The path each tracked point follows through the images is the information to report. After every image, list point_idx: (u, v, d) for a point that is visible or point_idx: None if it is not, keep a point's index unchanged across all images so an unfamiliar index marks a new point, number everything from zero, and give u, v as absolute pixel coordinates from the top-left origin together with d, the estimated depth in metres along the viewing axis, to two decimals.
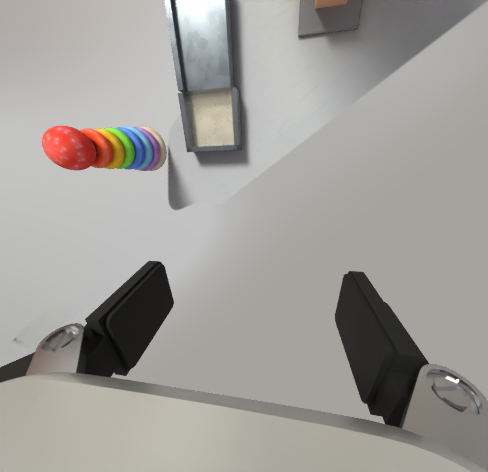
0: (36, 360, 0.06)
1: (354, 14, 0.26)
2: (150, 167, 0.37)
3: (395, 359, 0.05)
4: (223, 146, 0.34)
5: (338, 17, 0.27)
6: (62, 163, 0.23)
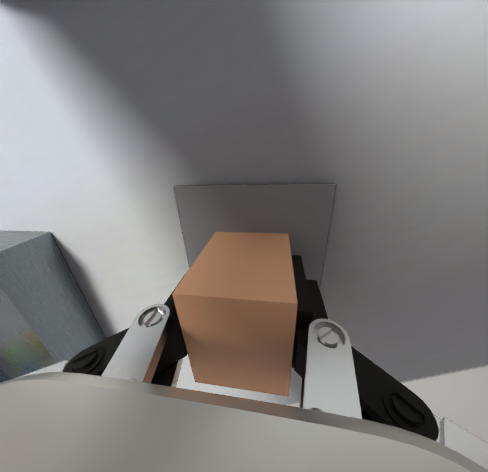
0: (132, 329, 0.06)
1: None
2: None
3: (297, 316, 0.07)
4: None
5: None
6: None
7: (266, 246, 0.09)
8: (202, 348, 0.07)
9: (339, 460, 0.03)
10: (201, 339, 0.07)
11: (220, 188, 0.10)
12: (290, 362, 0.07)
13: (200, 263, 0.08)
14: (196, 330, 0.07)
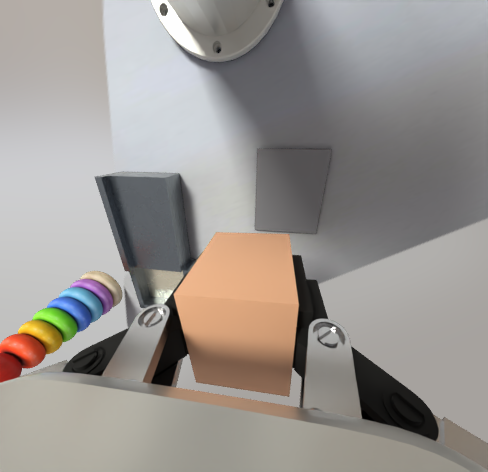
0: (132, 329, 0.06)
1: (311, 223, 0.24)
2: (102, 314, 0.34)
3: None
4: None
5: (295, 223, 0.25)
6: None
7: (267, 247, 0.09)
8: (203, 349, 0.07)
9: (339, 460, 0.03)
10: (202, 340, 0.07)
11: (280, 150, 0.21)
12: (291, 363, 0.07)
13: (201, 264, 0.08)
14: (197, 331, 0.07)
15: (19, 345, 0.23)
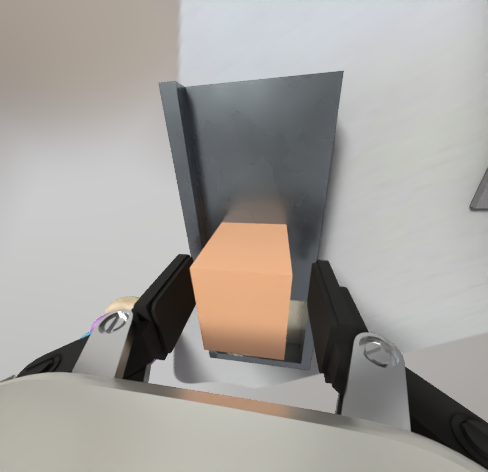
0: (92, 338, 0.06)
1: None
2: None
3: (338, 329, 0.06)
4: (279, 362, 0.18)
5: None
6: None
7: (267, 234, 0.10)
8: (212, 317, 0.09)
9: (339, 460, 0.03)
10: (211, 308, 0.08)
11: None
12: (286, 328, 0.08)
13: (210, 246, 0.09)
14: (208, 300, 0.08)
15: None
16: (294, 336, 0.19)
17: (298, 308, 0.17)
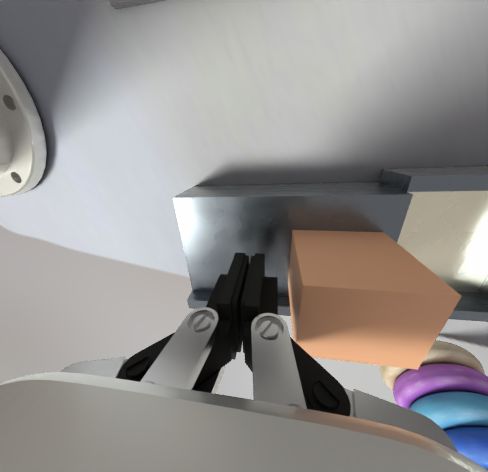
0: (180, 330, 0.06)
1: None
2: None
3: (246, 311, 0.07)
4: None
5: None
6: None
7: (293, 259, 0.11)
8: (360, 352, 0.08)
9: (339, 460, 0.03)
10: (347, 350, 0.08)
11: None
12: (387, 291, 0.07)
13: (291, 317, 0.10)
14: (335, 351, 0.08)
15: None
16: None
17: None
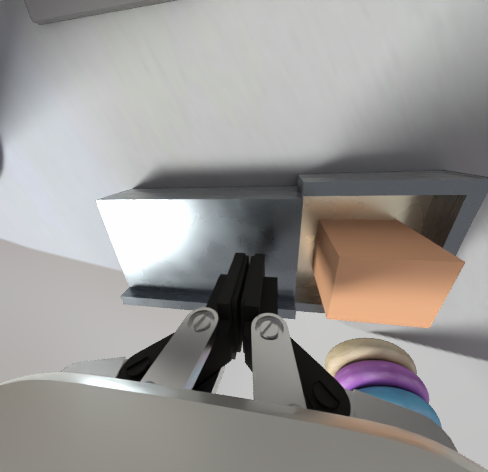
0: (180, 330, 0.06)
1: None
2: (427, 395, 0.16)
3: (246, 311, 0.07)
4: (453, 231, 0.10)
5: None
6: None
7: (369, 277, 0.09)
8: None
9: (339, 460, 0.03)
10: None
11: None
12: (420, 234, 0.11)
13: (392, 320, 0.10)
14: None
15: None
16: (415, 195, 0.12)
17: None
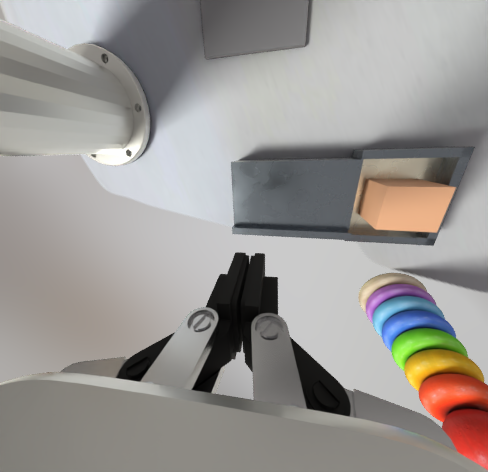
0: (180, 329, 0.06)
1: None
2: None
3: (246, 311, 0.07)
4: (452, 180, 0.18)
5: None
6: None
7: (403, 199, 0.17)
8: None
9: (339, 460, 0.03)
10: None
11: (203, 24, 0.19)
12: (432, 182, 0.18)
13: (415, 228, 0.17)
14: None
15: (438, 392, 0.15)
16: (429, 162, 0.19)
17: (388, 161, 0.20)
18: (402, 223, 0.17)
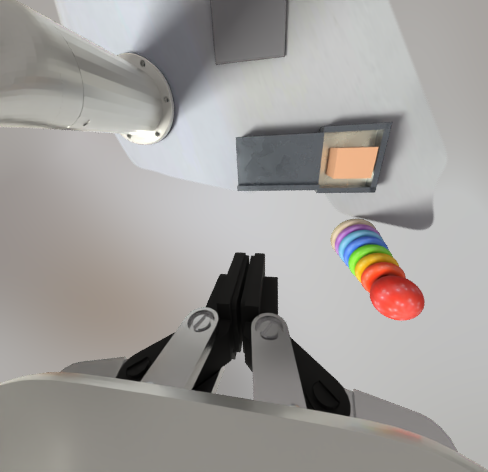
0: (180, 329, 0.06)
1: None
2: None
3: (246, 311, 0.07)
4: (381, 145, 0.28)
5: (276, 3, 0.25)
6: (421, 309, 0.21)
7: (348, 156, 0.26)
8: None
9: (339, 459, 0.03)
10: None
11: (214, 40, 0.27)
12: None
13: (357, 176, 0.27)
14: None
15: (369, 272, 0.25)
16: (369, 134, 0.29)
17: (343, 134, 0.29)
18: (349, 173, 0.27)
